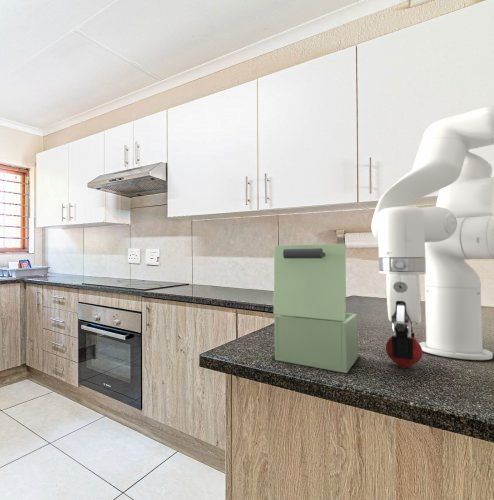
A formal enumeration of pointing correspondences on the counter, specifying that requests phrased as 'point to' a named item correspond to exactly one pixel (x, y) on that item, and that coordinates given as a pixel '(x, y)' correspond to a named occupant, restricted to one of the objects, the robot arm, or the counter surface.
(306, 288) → the lid
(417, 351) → the onion
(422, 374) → the counter surface
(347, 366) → the chest
